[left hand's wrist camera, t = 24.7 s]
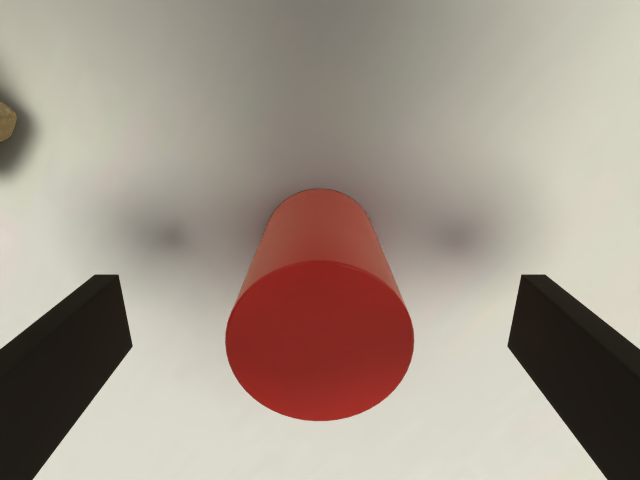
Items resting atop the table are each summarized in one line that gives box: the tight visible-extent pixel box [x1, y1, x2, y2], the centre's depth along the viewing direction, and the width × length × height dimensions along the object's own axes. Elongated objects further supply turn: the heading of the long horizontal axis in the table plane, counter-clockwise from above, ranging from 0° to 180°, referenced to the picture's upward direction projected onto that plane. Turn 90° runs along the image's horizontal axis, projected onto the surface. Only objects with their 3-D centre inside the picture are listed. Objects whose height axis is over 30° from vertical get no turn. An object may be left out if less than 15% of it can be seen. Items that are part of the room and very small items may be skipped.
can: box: [225, 189, 414, 421], centre depth 15 cm, size 5×5×9 cm
